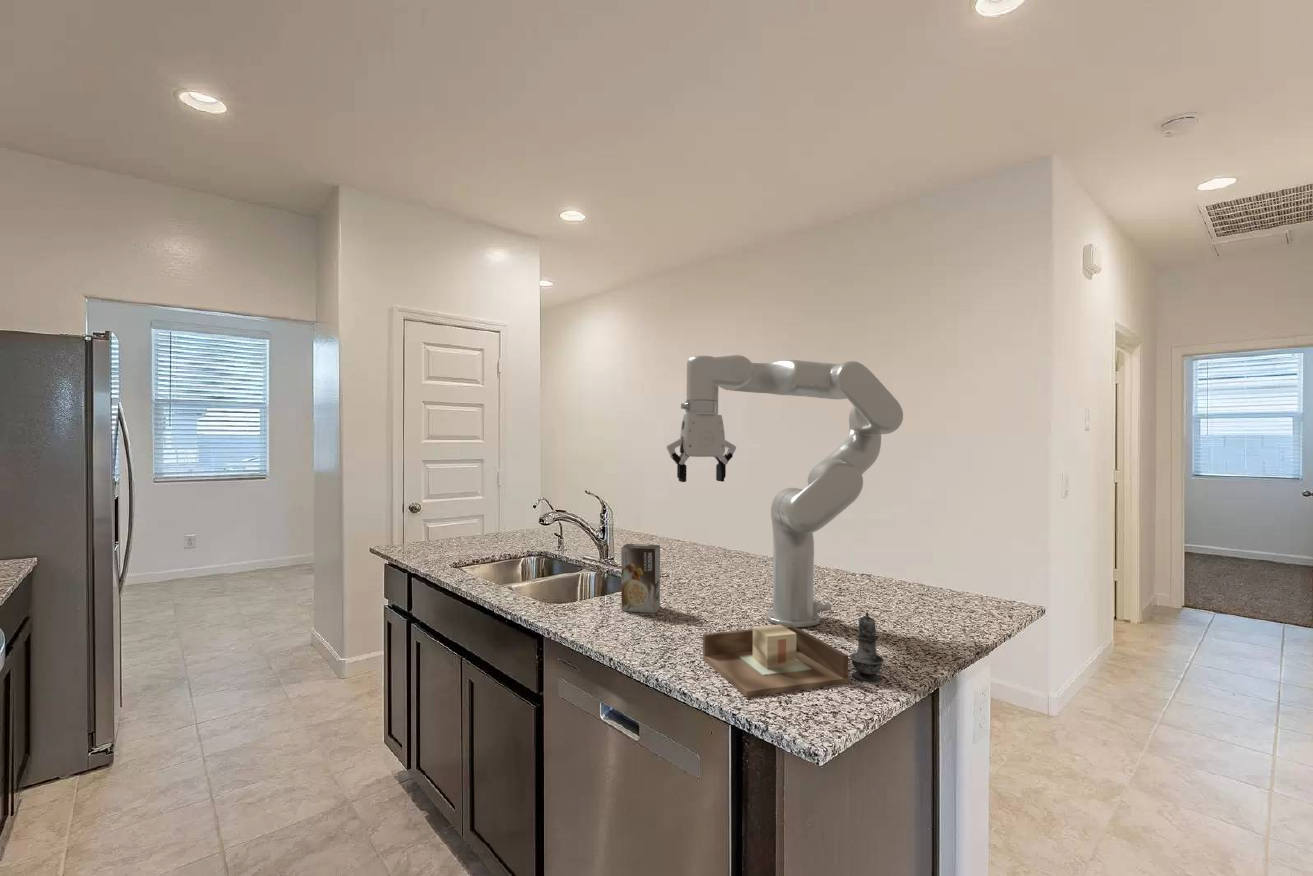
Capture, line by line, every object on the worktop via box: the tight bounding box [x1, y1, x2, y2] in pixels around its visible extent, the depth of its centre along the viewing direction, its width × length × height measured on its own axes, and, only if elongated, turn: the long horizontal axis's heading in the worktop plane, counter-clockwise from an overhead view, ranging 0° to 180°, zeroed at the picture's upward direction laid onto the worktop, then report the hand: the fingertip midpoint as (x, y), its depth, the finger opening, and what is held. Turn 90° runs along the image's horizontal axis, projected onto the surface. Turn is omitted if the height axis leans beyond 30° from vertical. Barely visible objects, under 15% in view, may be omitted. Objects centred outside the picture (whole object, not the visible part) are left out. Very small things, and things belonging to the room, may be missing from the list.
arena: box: [702, 625, 849, 698], centre depth 118 cm, size 20×19×5 cm
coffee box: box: [620, 543, 661, 614], centre depth 160 cm, size 9×6×16 cm
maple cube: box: [752, 624, 796, 669], centre depth 119 cm, size 6×6×6 cm
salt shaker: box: [849, 611, 885, 684], centre depth 115 cm, size 6×6×12 cm
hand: (701, 481), depth 148 cm, fingers open, 9 cm apart
